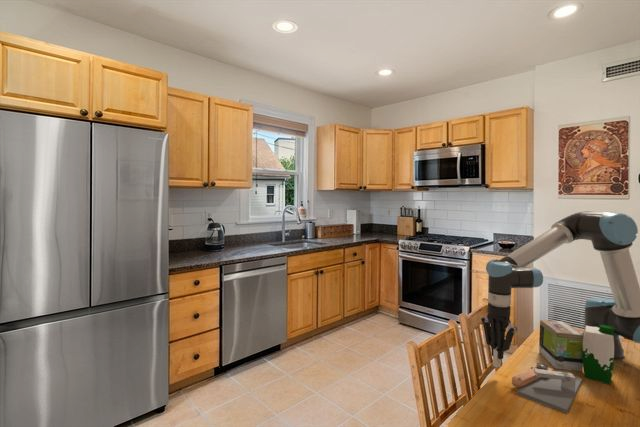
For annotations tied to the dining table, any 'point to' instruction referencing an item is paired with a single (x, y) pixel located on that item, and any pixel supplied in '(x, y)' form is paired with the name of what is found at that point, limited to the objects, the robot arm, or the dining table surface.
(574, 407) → the dining table surface
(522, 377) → the link
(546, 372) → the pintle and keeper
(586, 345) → the milk carton
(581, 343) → the tea box
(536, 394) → the board
